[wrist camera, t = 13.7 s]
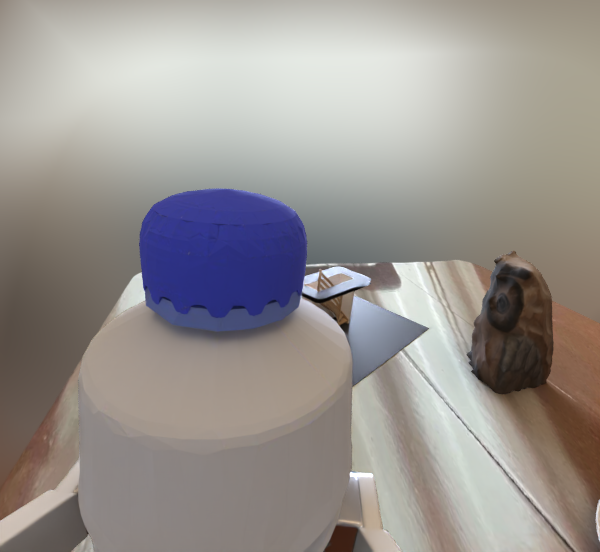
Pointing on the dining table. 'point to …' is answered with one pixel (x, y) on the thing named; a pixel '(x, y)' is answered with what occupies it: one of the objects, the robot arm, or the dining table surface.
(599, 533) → the dinner plate
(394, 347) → the architectural model
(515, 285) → the brown carved statue
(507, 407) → the dining table surface
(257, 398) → the bottle
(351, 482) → the robot arm
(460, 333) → the dining table surface
